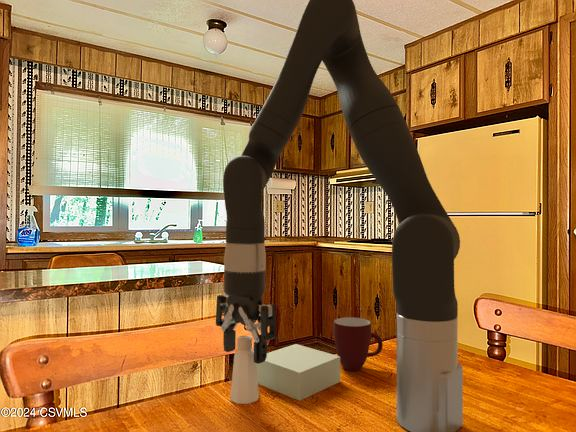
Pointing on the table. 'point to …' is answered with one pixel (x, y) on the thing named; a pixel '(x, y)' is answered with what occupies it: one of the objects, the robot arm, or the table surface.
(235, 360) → the salt shaker
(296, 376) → the sage box
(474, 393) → the table surface
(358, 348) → the mug
